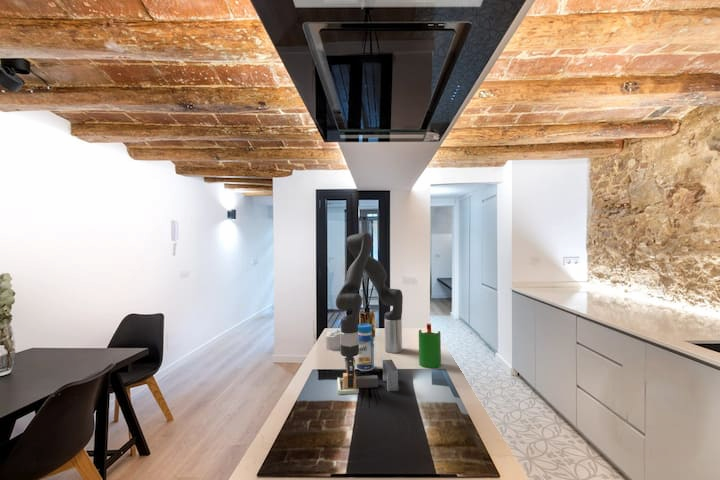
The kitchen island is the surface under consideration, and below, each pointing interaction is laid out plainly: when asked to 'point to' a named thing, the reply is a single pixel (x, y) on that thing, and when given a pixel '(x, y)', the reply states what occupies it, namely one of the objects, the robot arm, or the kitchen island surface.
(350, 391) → the light grey u-shaped piece
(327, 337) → the lumpy-topped squat cylinder
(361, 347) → the beverage bottle
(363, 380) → the plug
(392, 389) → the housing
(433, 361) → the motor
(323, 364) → the kitchen island surface
